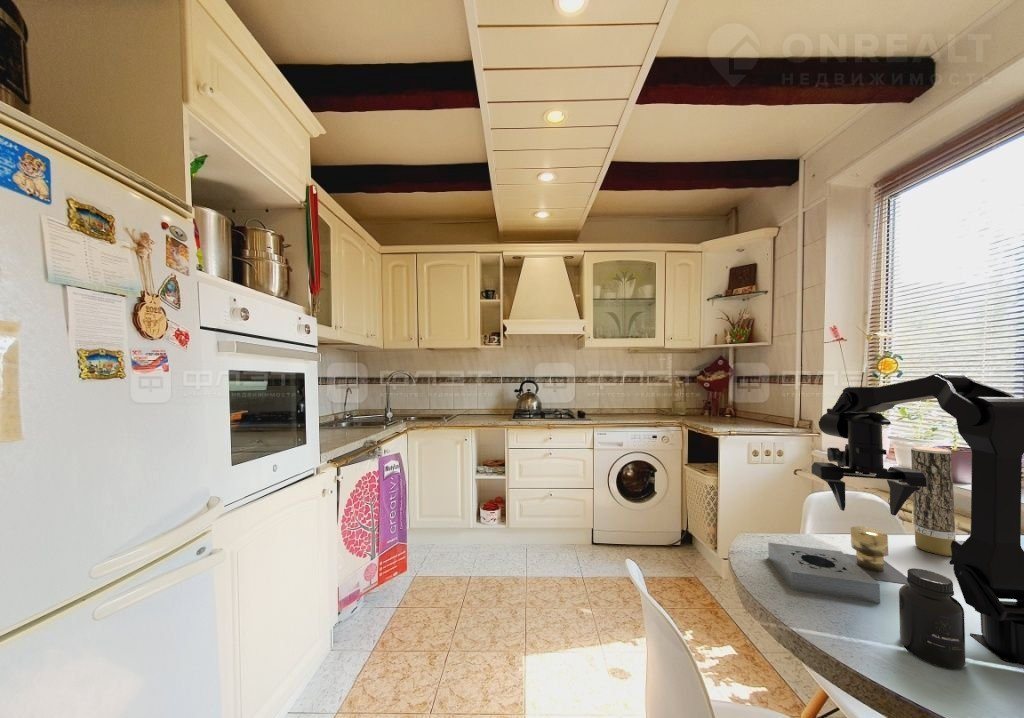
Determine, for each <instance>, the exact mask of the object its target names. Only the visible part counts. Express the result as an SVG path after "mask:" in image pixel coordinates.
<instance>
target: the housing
mask: <svg viewBox="0 0 1024 718" xmlns="http://www.w3.org/2000/svg"><path fill="white" fill-rule="evenodd" d="M767 547H768V559H769V561H771V564H773V566H774V567H775V569H776V570H777V571H778V573H779V574H780V576H781V577H782V578H783V580H784V581H785V582H786V583H787V585H788V587H789V588H790V589H791V590H792V591H794V592H795V591H796V592H802V593H803V592H804V593H809V594H815V595H822V596H827V597H835V598H840V599H841V598H842V599H847V600H855V601H861V602H867V603H868V602H869V603H874V604H878V605H881V589H880V588H881V587H880V583H879V582H877V580H874V579H873V578H872V577H871V576H869V575H868V574H867V573H866V572H865V571H863V570H862V569H861V568H860V567H859V566H858V565H856V564H855V563H854V562H853V561H852V560H851V559H849V558H848V557H847V556H846V555H845V554H846V553H843V552H842V551H841V550H840V551H839V550H832V549H826V548H816V547H815V548H814V547H808V546H807V547H806V546H800V545H791V544H784V543H783V544H782V543H776V542H768V546H767Z"/></svg>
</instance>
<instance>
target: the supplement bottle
mask: <svg viewBox="0 0 1024 718" xmlns="http://www.w3.org/2000/svg"><path fill="white" fill-rule="evenodd" d="M906 577H907V582H908V583H909V584H903V585H902V586H901V587H900V588H899V590H898V604H899V605H898V606H899V607H898V609H899V610H898V612H899V618H898V619H899V640H900V643H901V645H902V647H903V648H904V649H905V650H906V651H907V652H908V653H910V654H912V655H913V656H914V657H916V658H918V659H920V660H921V661H923V662H926V663H928V664H930V665H933V666H935V667H938V668H941V669H942V668H943V669H946V670H954V671H958V670H962V669H964V668H965V666H966V631H965V630H966V629H965V628H966V627H965V624H966V622H965V610H964V607H963V606H962V604H961V603H960V602H959V601H958V600H957V599H956V598H954V596H955V590H954V582H953V581H952V579H950V578H948V577H947V576H944V575H942V574H939V573H937V572H934V571H931V570H927V569H923V568H916V567H915V568H912V567H911V568H908V569H907V576H906Z"/></svg>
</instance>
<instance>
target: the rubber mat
mask: <svg viewBox="0 0 1024 718" xmlns="http://www.w3.org/2000/svg"><path fill="white" fill-rule="evenodd" d="M844 554H845V555H846V556H847V557H848V558H849V559H851V560H852V561H853V562H854V563H855V564H856V565H857V557H856V554H850V553H849V554H848V553H844ZM860 568H861V567H860ZM861 569H862V570H863V571H865V572H866V573H867V574H868V575H869V576H871V577H872V578H873V579H874V580H875V581H879V582H885V583H893V584H901V585H907V584H909V583H908V582H907V577H908V576H906V575H905V574H904V573H902V572H901V571H900V570H898V569H897V568H895V567H894V566H893V565H892V564H890V563H889V562H887V561H886V560H884V572H873V571H869V570H866V569H863V568H861Z"/></svg>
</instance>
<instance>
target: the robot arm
mask: <svg viewBox="0 0 1024 718" xmlns="http://www.w3.org/2000/svg"><path fill="white" fill-rule="evenodd" d="M933 399H936V400H937V402H938V405H939V407H940V408H941V409H940V410H943V411H944V412H946V413H947V414H949V415H950V416H952V417H953V418H954V419H956V420H955V421H956V426H957V431H958V434H959V435H960V437H961V438H962V439H963V440H964V442H965V443H966V444H967V445H968V447H969V448H970V449H971V480H970V481H971V487H970V488H971V490H970V491H971V492H970V493H971V496H970V497H971V498H970V499H971V500H970V503H971V505H970V506H971V508H970V535H969V536H968V537H967V538H966V539H965V540H956V541H952V543H951V552H952V556H950V557H951V559H950V561H949V565H952V566H953V569H952V570H953V574H954V576H955V579H956V581H957V584H958V586H959V590H960V591H961V593H962V597H963V600H964V602H965V604H966V605H968V606H970V607H972V608H973V609H974V611H975V612H977V613H979V614H980V630H981V632H980V633H981V634H977V633H973V632H972V633H971V632H970V633H969V636H970V637H971V638H973V639H974V640H975V641H977V642H978V643H979V644H981V645H982V646H983V647H984V648H986V650H988V651H990V652H991V653H992V654H994V655H995V656H996V657H997V658H999V659H1000V660H1001V661H1003V662H1006V663H1010V664H1015V665H1020V666H1024V549H1023V548H1022V546H1021V545H1022V544H1021V543H1022V542H1021V540H1022V539H1021V538H1022V536H1021V532H1022V529H1021V528H1022V472H1023V471H1022V469H1023V468H1022V464H1023V463H1022V462H1023V461H1022V459H1023V456H1024V398H1022V397H1016V396H1015V395H1012V394H1010V393H1008V392H1007V391H1004V390H1001V389H998V388H995V387H992V386H989V385H986V384H985V383H981V382H978V381H976V380H974V379H973V378H971V377H970V376H967V375H964V374H961V373H934V374H930V375H929V376H926V377H921V378H915V379H912V380H905V381H901V382H897V383H891V384H887V385H882V386H881V385H880V386H848V387H845V388H844V389H842V393H841V394H840V395H839V396H838V398H837V400H836V403H834V405H833V406H832V407H831V408H826V413H824V414H823V415H821V417H820V418H819V421H818V427H819V430H820V431H821V432H822V433H823V434H825V435H827V436H832V437H836V438H837V437H838V438H843V439H846V440H847V443H848V444H847V443H845V446H844V450H840V448H838V447H827V448H826V449H827V450H826V451H827V455H826V456H827V460H828V461H829V462H822V461H821V462H820V461H815V462H813V463H812V465H811V466H810V467H811V474H813V475H814V476H816V477H818V478H819V479H821V480H822V481H825V482H826V483H827V484H828V486H829V488H830V489H831V491H832V494H833V497H834V498H835V501H836V503H837V505H838V507H839V510H841V511H843V512H844V511H845V509H846V482H845V481H843V480H842V479H844V477H852V478H862V479H864V478H866V479H877V480H886V483H887V484H888V487H889V511H890V514H891V515H892V516H894V517H895V516H897V514H898V513H899V512H900V510H901V509H902V507H903V506H904V504H905V503H906V501H907V500H908V499H909V498H910V497H911V496H913V492H914V491H916V490H920V488H919V487H928V479H927V477H926V475H925V474H924V473H922V472H919V471H916V470H913V469H912V468H910V467H899V466H897V467H896V466H895V467H894V466H889V468H888V469H887V468H885V467H884V456H885V455H886V456H887V454H888V453H887V450H886V449H884V448H883V444H884V443H883V425H887V426H888V425H890V426H891V424H892V422H891V421H890V420H889V419H888V418H886V417H885V416H884V415H883V414H882V413H883V412H886V411H889V410H891V409H892V410H893V409H894V407H895V406H897V405H900V404H905V403H914V402H919V401H926V400H927V401H928V400H933ZM833 462H834V463H833ZM835 463H837V465H836V464H835ZM917 486H919V487H917ZM1006 600H1015V601H1006Z"/></svg>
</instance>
